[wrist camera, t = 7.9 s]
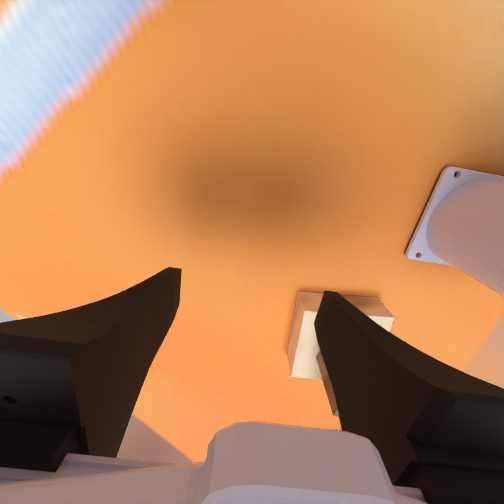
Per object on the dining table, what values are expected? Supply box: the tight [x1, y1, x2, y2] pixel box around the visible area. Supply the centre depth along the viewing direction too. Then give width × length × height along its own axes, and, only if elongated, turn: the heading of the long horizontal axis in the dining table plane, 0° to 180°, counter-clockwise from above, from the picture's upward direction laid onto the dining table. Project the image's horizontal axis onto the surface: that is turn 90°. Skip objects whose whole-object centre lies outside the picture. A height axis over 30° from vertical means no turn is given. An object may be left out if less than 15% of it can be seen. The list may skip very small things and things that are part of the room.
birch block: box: [287, 291, 395, 379], centre depth 25 cm, size 8×8×4 cm
